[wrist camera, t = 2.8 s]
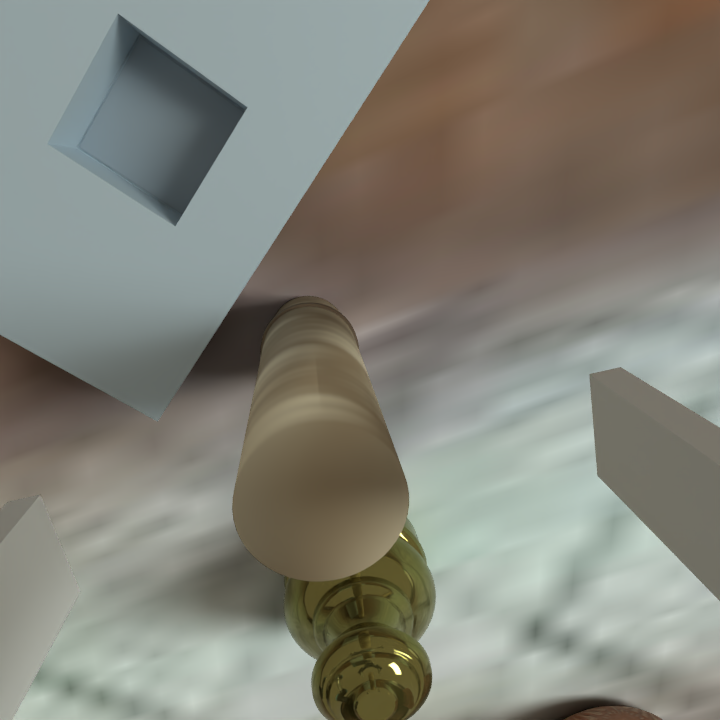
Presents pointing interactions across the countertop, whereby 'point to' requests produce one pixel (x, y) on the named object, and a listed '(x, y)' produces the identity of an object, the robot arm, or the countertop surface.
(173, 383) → the slate board
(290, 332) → the beech peg
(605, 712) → the planter
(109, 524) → the countertop surface
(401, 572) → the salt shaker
